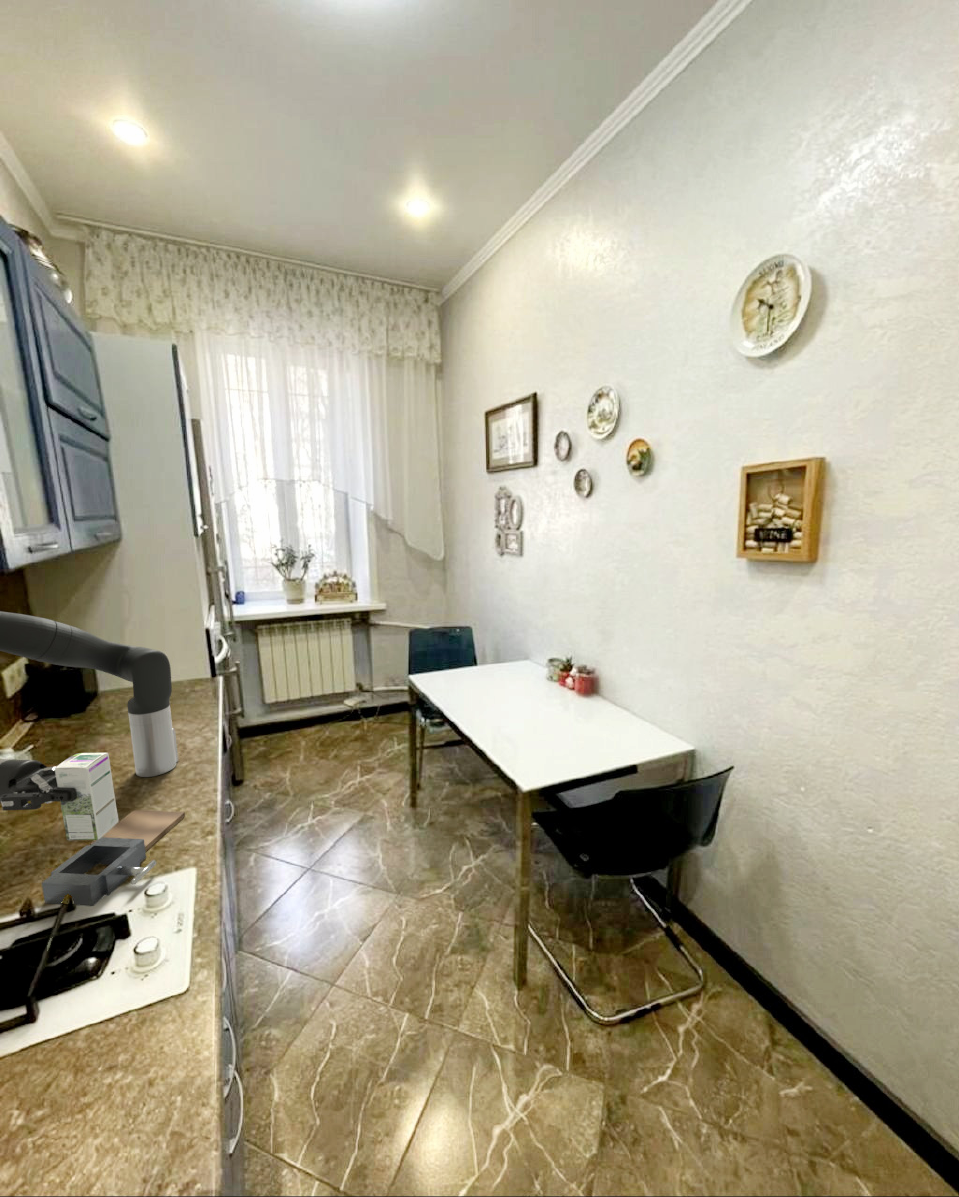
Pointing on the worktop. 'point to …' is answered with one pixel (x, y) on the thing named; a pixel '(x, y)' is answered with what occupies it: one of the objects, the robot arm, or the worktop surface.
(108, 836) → the walnut board
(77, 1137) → the worktop surface
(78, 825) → the syrup box
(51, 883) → the vise
